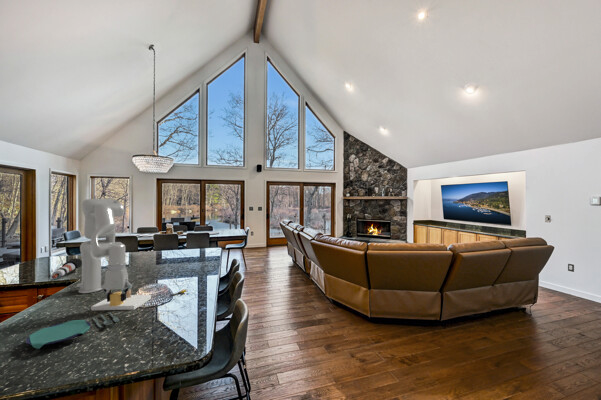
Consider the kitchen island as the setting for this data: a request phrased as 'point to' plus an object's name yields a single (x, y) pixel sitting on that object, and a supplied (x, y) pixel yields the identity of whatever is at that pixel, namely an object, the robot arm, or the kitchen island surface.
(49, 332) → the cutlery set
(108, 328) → the kitchen island surface
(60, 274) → the striped roll
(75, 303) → the kitchen island surface
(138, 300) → the plate
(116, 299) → the acorn cap nut
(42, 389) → the kitchen island surface
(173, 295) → the composite cable
